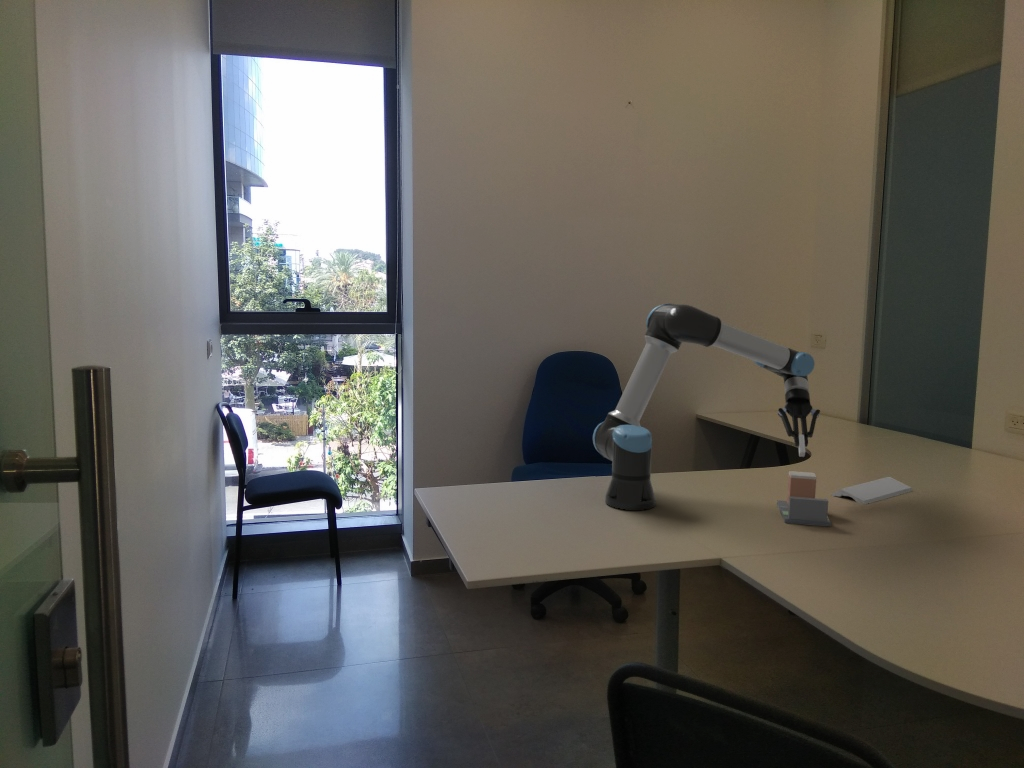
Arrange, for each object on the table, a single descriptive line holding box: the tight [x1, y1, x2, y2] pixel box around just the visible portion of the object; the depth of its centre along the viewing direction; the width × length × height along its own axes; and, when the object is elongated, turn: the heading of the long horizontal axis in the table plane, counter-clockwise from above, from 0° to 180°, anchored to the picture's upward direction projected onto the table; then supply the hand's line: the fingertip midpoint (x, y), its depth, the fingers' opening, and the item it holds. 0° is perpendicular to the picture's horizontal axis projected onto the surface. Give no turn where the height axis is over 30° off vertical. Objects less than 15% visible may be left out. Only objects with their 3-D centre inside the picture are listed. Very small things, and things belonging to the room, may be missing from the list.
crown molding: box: [830, 476, 914, 505], centre depth 236 cm, size 29×12×4 cm, turn 125°
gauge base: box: [776, 496, 832, 528], centre depth 211 cm, size 12×19×7 cm, turn 166°
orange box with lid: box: [786, 470, 817, 506], centre depth 215 cm, size 7×5×10 cm
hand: (802, 454), depth 224 cm, fingers closed
